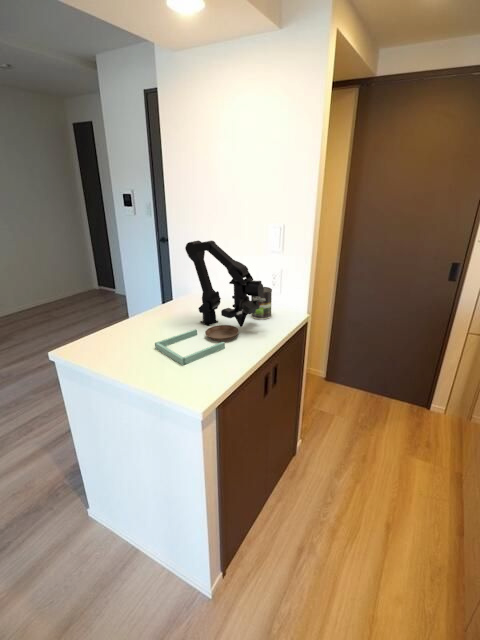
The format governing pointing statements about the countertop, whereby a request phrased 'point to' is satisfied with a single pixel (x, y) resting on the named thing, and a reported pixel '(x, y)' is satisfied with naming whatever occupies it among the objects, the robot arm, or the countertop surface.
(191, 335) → the tray
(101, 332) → the countertop surface
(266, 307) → the coffee can
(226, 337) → the saucer
